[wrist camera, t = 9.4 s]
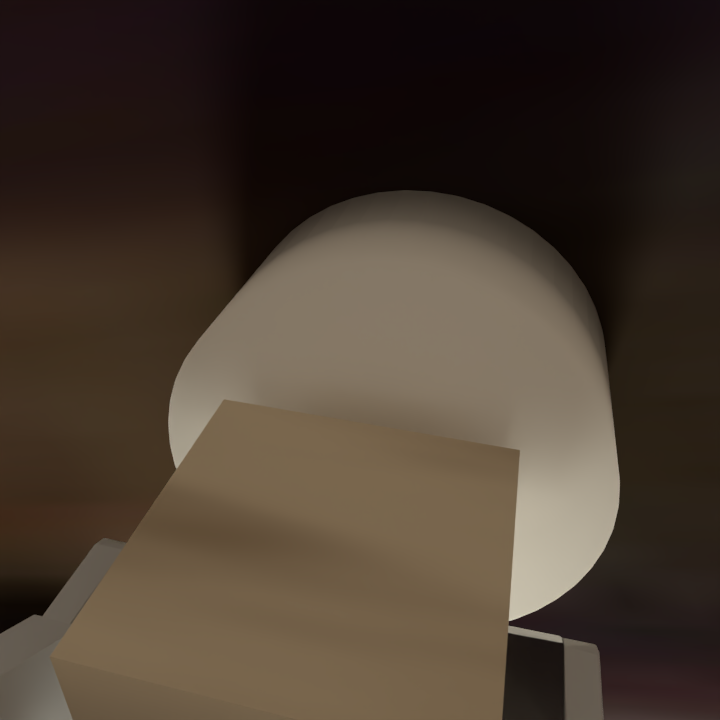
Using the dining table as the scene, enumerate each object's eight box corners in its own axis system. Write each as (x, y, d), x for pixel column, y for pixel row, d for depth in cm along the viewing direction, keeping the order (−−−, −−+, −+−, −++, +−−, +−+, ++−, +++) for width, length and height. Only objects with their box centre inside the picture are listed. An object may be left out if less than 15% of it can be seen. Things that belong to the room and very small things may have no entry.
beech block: (480, 642, 14) (448, 952, 10) (242, 589, 15) (121, 852, 11) (519, 450, 11) (499, 771, 7) (223, 399, 12) (49, 656, 8)
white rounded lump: (564, 523, 19) (565, 668, 15) (256, 463, 21) (191, 583, 17) (650, 214, 14) (683, 321, 10) (236, 167, 16) (139, 245, 12)
